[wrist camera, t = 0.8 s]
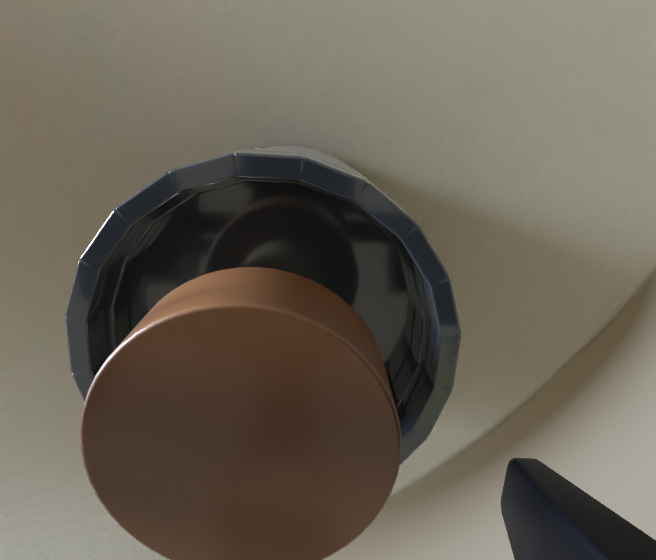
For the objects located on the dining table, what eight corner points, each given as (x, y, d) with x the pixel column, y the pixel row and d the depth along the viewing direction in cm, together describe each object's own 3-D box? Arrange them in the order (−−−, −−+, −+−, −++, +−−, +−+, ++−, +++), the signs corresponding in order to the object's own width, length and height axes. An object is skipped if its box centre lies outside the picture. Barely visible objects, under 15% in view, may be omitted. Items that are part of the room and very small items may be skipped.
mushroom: (361, 409, 14) (387, 582, 9) (178, 402, 14) (92, 574, 9) (376, 231, 13) (419, 312, 7) (171, 221, 12) (60, 295, 7)
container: (388, 360, 22) (434, 518, 13) (179, 351, 21) (85, 507, 13) (410, 146, 19) (487, 167, 10) (171, 132, 18) (43, 141, 10)
